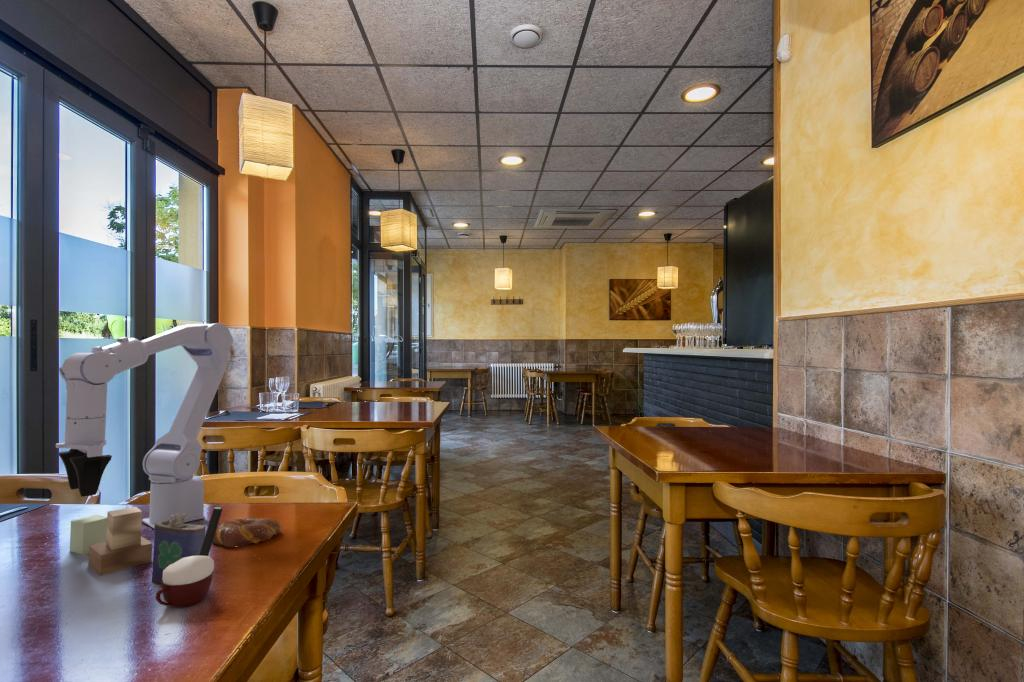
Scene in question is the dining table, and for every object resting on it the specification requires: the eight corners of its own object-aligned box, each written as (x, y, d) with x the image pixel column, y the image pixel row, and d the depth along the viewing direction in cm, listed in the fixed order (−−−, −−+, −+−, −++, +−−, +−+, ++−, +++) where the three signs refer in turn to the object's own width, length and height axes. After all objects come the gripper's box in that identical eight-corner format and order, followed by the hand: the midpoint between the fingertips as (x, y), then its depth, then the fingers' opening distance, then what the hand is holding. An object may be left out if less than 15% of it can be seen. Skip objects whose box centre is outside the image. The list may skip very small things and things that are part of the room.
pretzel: (280, 526, 107) (281, 508, 107) (280, 543, 97) (281, 524, 97) (215, 534, 102) (215, 515, 102) (208, 553, 92) (208, 532, 92)
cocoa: (159, 622, 68) (158, 533, 68) (145, 605, 72) (145, 521, 72) (234, 594, 75) (234, 514, 75) (218, 580, 79) (218, 505, 79)
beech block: (134, 538, 89) (135, 506, 90) (140, 543, 87) (142, 511, 87) (106, 544, 86) (107, 511, 87) (111, 550, 84) (113, 516, 84)
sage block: (95, 544, 95) (96, 514, 95) (107, 547, 93) (109, 517, 94) (69, 551, 91) (71, 520, 92) (82, 554, 90) (83, 523, 90)
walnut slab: (137, 554, 91) (138, 534, 91) (151, 563, 87) (152, 543, 87) (88, 566, 86) (89, 545, 86) (100, 577, 81) (101, 555, 81)
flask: (207, 582, 79) (209, 513, 79) (191, 591, 76) (193, 519, 77) (162, 575, 82) (164, 508, 82) (144, 583, 79) (146, 513, 79)
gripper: (48, 416, 95) (45, 489, 94) (67, 422, 86) (63, 503, 85) (96, 413, 100) (93, 482, 100) (118, 419, 91) (115, 495, 91)
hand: (83, 491), depth 93 cm, fingers open, 7 cm apart
